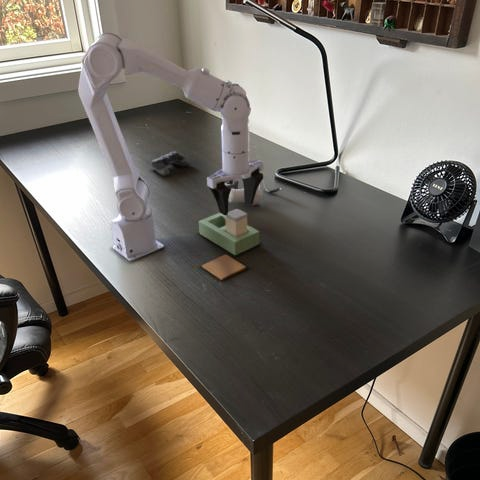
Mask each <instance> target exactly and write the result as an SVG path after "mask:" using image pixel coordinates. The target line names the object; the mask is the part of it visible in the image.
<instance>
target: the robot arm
mask: <svg viewBox="0 0 480 480" xmlns="http://www.w3.org/2000/svg"><path fill="white" fill-rule="evenodd" d="M123 69H124V76H131V75H134V74H137V73H145V74H147V75H149V76H151V77H154V78H156V79H159V80H162V81H163V82H166V83H168V84H171V85H173V86H175V87H177V88H180V89H181V90H182V92H183V94H184V96H185V98H186V99H187V100H190V101H192V102H194V103H196V104H198V105H201V106H203V107H204V108H207V109H209V110H211V111H213V112H216V113H217V112H219V113H220V115H221V117H222V118H221V120H222V125H221V127H220V130H221V159H222V160H221V162H222V163H221V164H222V167H221V168H220V169H219V170H217V171H216V172H215V173H213V174H211V175H209V176H207V177H206V186H207V187H208V189H209V190H210V192H211V193H212V195H213V197H214V199H215V202H216V204H217V208H218V211H219V212H218V213H221V214H223V215H228V212H229V201H228V200H229V195H230V192H231V189H230V188H227V187H226V185H225V182H229V181H231V180H233V181H234V180H237V179H241V181H242V184H243V188H244V200H245V202H244V203H245V204H247V205H249V204H250V206H253V205H252V204H253V201H254V198H255V194H256V191H257V189H258V187H259V184H260V185H261V182H263V181H264V174H263V173H262V171H263V170H264V161H262V160H259V159H254V160H250V126H249V121H250V119H249V117H250V114H251V111H252V107H251V103H250V99H249V96H248V93H247V91H246V89H244V88H243V87H242V86H240V84H239V83H233V82H232V81H230V80H227V79H226V81H225V80H223V79H220V78H218V77H216V76H215V75H213V74H210V69H208V68H206V67H203V68H202V69H200V68H198V67H195V68H193V69H189V70H187V69H185V68H183V67H181V66H179V65H177V64H176V63H174V62H172V61H170V60H168V59H166V58H165V57H164V56H163V57H162V55H159V54H157V53H156V52H153V51H152V50H150V49H148V48H146V47H144V46H142V45H141V44H139V43H137V42H135V41H134V40H132V39H129V38H126V37H123V38H122V37H121V36H119V34H116V33H114V32H108V31H107V32H103V33H101V34H100V35H98V36H97V37H96V39H95V40H94V42H93V43H92V44H90V46H89V47H88V49H87V50H86V52H85V54H84V55H83V57H82V58H81V69H80V74H79V76H80V77H79V80H78V88H77V92H78V96H79V98H80V101H81V103H82V106H83V108H84V111H85V113H86V115H87V118H88V121H89V123H90V124H91V128H92V130H93V132H94V135H95V137H96V140H97V142H98V145H99V147H100V150H101V152H102V154H103V157H104V159H105V161H106V164H107V166H108V169H109V170H110V174H111V176H112V180H113V187H114V188H113V189H114V194H115V196H116V200H117V201H116V209H117V212H118V213H119V215H118V216H117V217H115V218H114V219H112V220H111V221H110V223H109V224H110V225H109V226H110V232H111V233H110V234H111V237H112V242H113V246H112V248H113V250H114V251H116V252H117V253H119V254H120V255H121V256H123V257H124V258H125V259H126V260H127V261H129V262H132V261H135V260H138V259H139V258H142V257H144V256H147V255H149V254H151V253H154V252H156V251H159V250H160V249H164V247H165V245H164V244H163V243H162V242H160V241H158V240H157V238H156V231H155V223H154V215H153V209H152V207H151V205H149V202H148V200H149V197H150V194H151V189H150V186H149V183H148V182H146V180H145V179H144V178H143V177H142V176H141V173H140V171H139V170H138V169H137V168H136V167H135V164H134V163H133V160H132V157H131V154H130V152H129V149H128V146H127V143H126V141H125V138H124V136H123V132H122V130H121V128H120V125H119V122H118V120H117V117H116V115H115V112H114V108H113V106H112V104H111V101H110V99H109V96H108V89H109V88H110V85H111V83H112V82H113V81H114V80H115V79H117V77H118V76H119V75H120V74H121V71H122V70H123ZM262 180H263V181H262Z"/></svg>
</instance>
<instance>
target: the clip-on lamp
mask: <svg viewBox="0 0 480 480" xmlns="http://www.w3.org/2000/svg"><path fill="white" fill-rule="evenodd" d="M261 182H262V185H263V187H264V190H265V191H266V192H268V193H273V194H274V193H277V192H279V191H280V192H281V191H283V188H281V187H275V188H272V189H269V190H268V188H267V186H266V184H265V181H264V179H263V180H262V181H261ZM225 185H226V187H227V188H230V189H231V192H230V195H229V200H228V203H230V204H232V203H237V204H238V203H246V202H245V200H244V187H243V188H239V180H235V181H234V179H233V180H231V181H228V182H225ZM262 198H263V193H262V191H261V183H260V184H259V186H258V189H257V191H256V194H255V198H254V201H253V204H252V205H250V204H248V205H250V206H257V205H258V204H259V203H260V202H261V200H262Z"/></svg>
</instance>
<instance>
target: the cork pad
mask: <svg viewBox="0 0 480 480" xmlns="http://www.w3.org/2000/svg"><path fill="white" fill-rule="evenodd" d="M201 267H202V268H203V269H204V270H205V271H207V272H209V273H210V274H212V276H215V278H217V279H219V280H221V281H224V280H226V279H228V278H230V277H232V276H234V275H236V274H237V273H240V272H242V271H244V270H246V269H247V266H245V265H244V264H243V263H240V262H239V261H237V260H236V259H234V258H233V257H231V256H229V255H228V254H227V253H226V254H223V255H221V256H219V257H216V258H215V259H213V260H210V261H208V262H206V263H204V264H202V265H201Z"/></svg>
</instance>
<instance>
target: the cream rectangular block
mask: <svg viewBox="0 0 480 480" xmlns="http://www.w3.org/2000/svg"><path fill="white" fill-rule="evenodd" d="M247 225H248V213H247V212H245V211H243V210H241V209H239V208H234V209H232V210H230V211H228V215H226V232H227V233H228V234H230V235H232V236H234V237H235V238H236V237H238V236H240V235H242V234H245V233H247Z"/></svg>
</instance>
